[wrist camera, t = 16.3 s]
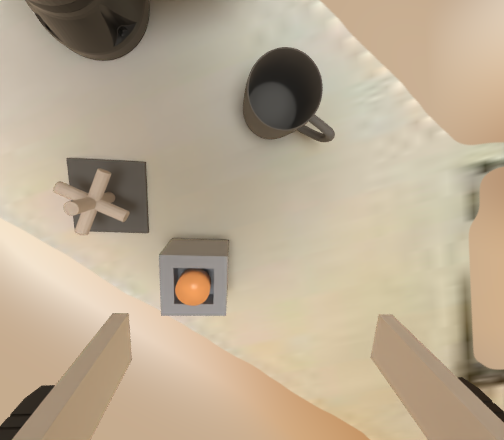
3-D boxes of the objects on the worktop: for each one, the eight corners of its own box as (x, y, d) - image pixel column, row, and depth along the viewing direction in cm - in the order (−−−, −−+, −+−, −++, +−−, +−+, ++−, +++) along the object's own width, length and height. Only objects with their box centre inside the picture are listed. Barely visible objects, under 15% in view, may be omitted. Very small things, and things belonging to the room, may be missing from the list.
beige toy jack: (149, 183, 41) (123, 190, 31) (128, 235, 43) (97, 257, 33) (89, 155, 39) (42, 153, 30) (69, 211, 41) (18, 226, 31)
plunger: (178, 267, 38) (174, 274, 36) (211, 268, 39) (209, 275, 36) (179, 296, 39) (175, 305, 37) (210, 297, 40) (209, 305, 37)
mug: (231, 118, 40) (230, 100, 28) (263, 67, 39) (276, 26, 27) (298, 166, 43) (322, 168, 31) (330, 119, 41) (368, 103, 30)
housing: (172, 238, 44) (159, 254, 36) (228, 239, 45) (227, 256, 37) (173, 289, 46) (161, 315, 38) (227, 290, 47) (225, 315, 39)
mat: (68, 158, 40) (66, 157, 39) (145, 162, 41) (144, 161, 40) (76, 230, 42) (74, 230, 42) (148, 232, 43) (147, 233, 43)
